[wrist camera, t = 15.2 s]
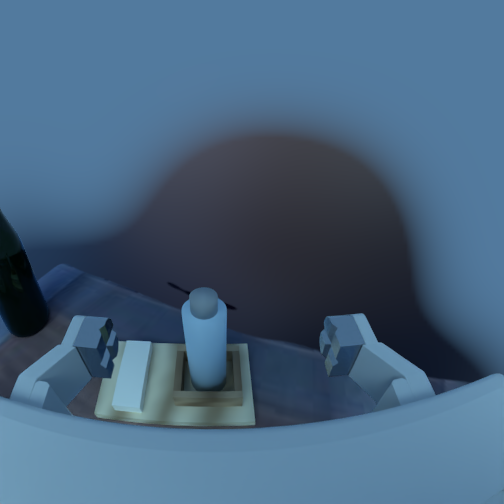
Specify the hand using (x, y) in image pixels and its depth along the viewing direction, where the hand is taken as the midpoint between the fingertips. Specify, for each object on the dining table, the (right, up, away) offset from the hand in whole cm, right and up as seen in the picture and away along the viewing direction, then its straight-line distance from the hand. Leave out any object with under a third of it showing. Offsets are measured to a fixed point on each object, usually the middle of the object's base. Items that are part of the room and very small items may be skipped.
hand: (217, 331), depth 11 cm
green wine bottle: (-43, -11, +36) cm, 57 cm away
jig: (-10, -16, +30) cm, 35 cm away
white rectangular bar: (-16, -15, +28) cm, 36 cm away
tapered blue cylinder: (-5, -15, +29) cm, 34 cm away
